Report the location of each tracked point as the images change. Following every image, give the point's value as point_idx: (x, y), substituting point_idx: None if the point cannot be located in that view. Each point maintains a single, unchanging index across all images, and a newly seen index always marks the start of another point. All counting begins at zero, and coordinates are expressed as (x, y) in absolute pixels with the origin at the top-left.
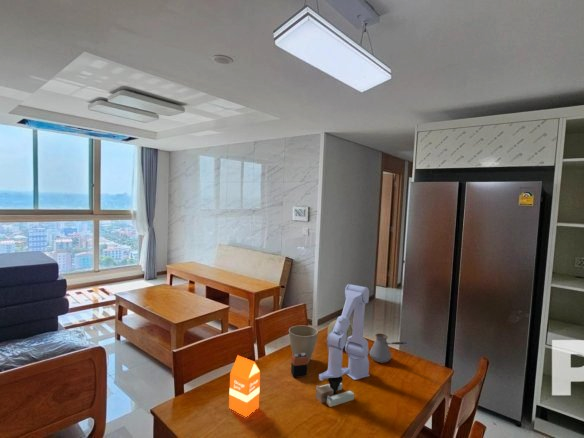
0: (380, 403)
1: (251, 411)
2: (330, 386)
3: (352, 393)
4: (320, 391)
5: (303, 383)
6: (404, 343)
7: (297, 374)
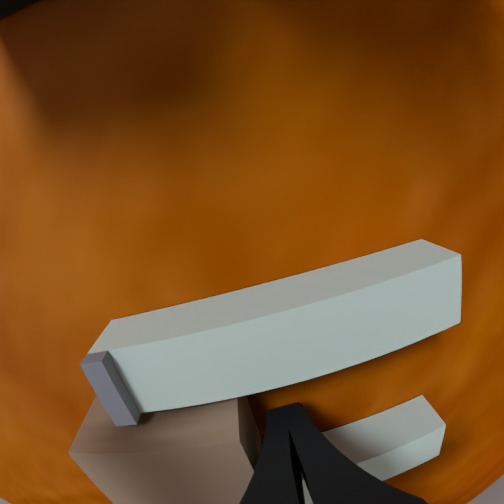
0: (499, 430)
1: None
2: (263, 458)
3: (429, 455)
4: (114, 495)
5: (25, 115)
6: None
7: (2, 2)
